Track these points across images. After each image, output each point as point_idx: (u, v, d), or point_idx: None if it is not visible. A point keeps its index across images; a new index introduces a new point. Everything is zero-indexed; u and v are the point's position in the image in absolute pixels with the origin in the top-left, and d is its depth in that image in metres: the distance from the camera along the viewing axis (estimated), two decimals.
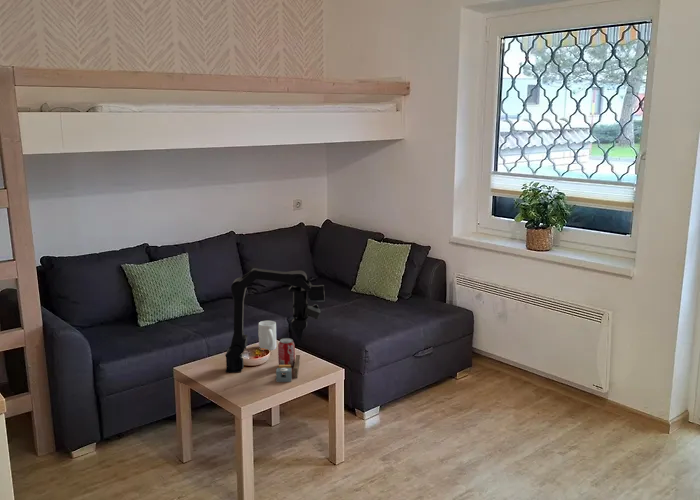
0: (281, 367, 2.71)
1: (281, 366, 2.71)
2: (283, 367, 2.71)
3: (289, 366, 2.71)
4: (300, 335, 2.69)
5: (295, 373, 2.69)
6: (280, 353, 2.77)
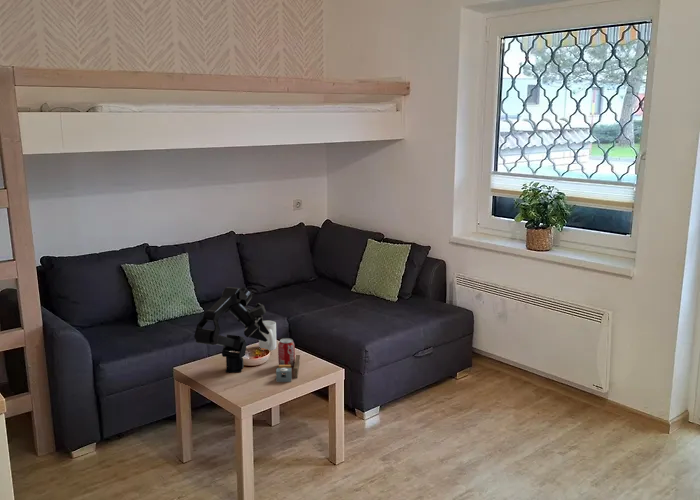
0: (281, 367, 2.71)
1: (281, 366, 2.71)
2: (283, 367, 2.71)
3: (289, 366, 2.71)
4: (262, 337, 2.72)
5: (295, 373, 2.69)
6: (280, 353, 2.77)
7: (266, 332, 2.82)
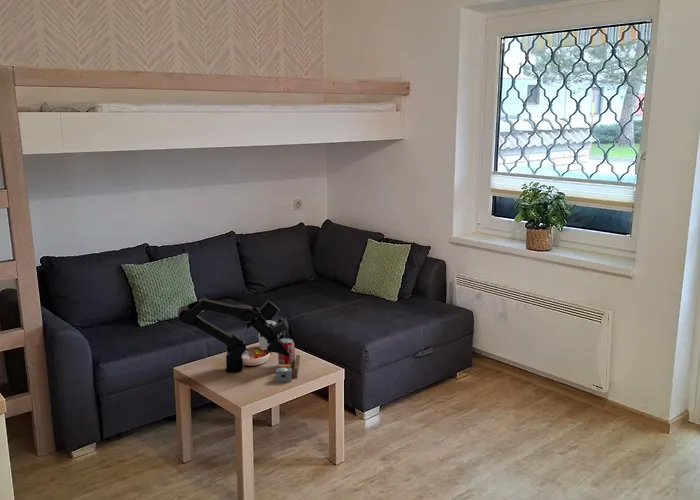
0: (281, 367, 2.71)
1: (281, 366, 2.71)
2: (283, 367, 2.71)
3: (289, 366, 2.71)
4: (285, 351, 2.75)
5: (295, 373, 2.69)
6: None
7: None
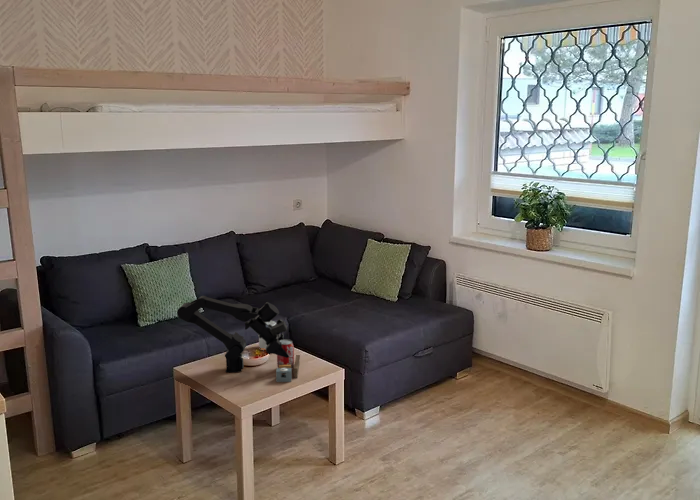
0: (281, 367, 2.71)
1: (281, 366, 2.71)
2: (283, 367, 2.71)
3: (289, 366, 2.71)
4: (284, 353, 2.71)
5: (295, 373, 2.69)
6: None
7: None
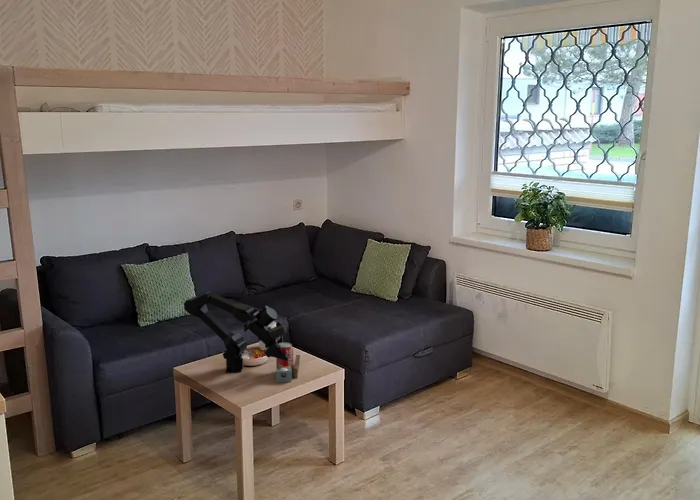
0: None
1: None
2: None
3: None
4: (283, 356, 2.68)
5: (295, 373, 2.69)
6: (278, 358, 2.70)
7: None
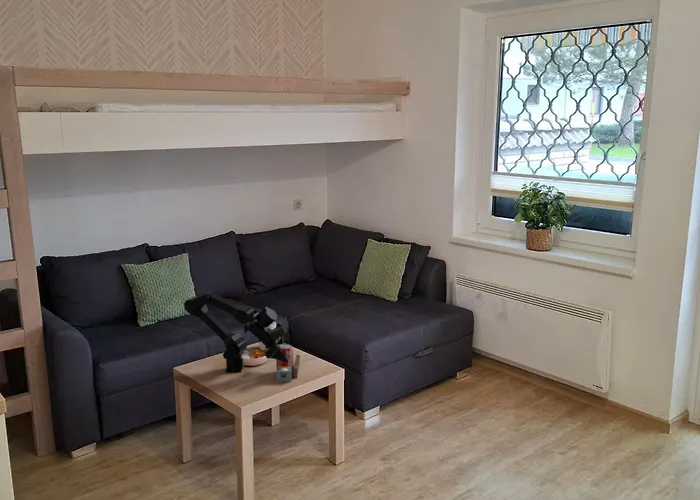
0: None
1: None
2: None
3: None
4: (283, 357, 2.67)
5: (295, 373, 2.69)
6: None
7: None
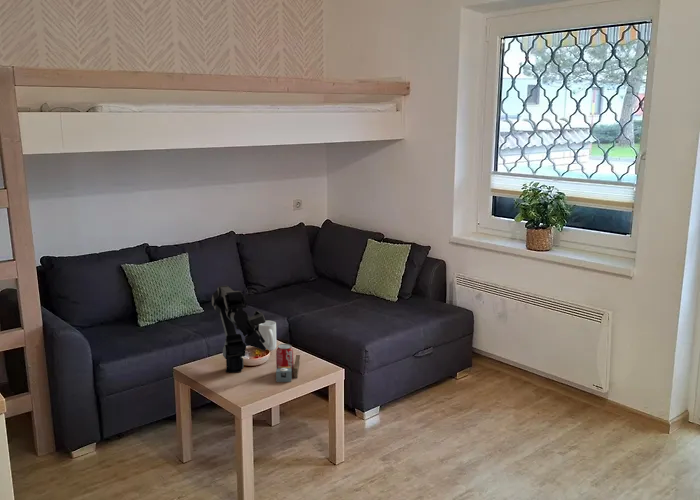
0: None
1: None
2: None
3: None
4: (261, 345, 2.67)
5: (295, 373, 2.69)
6: (278, 359, 2.70)
7: (262, 340, 2.77)
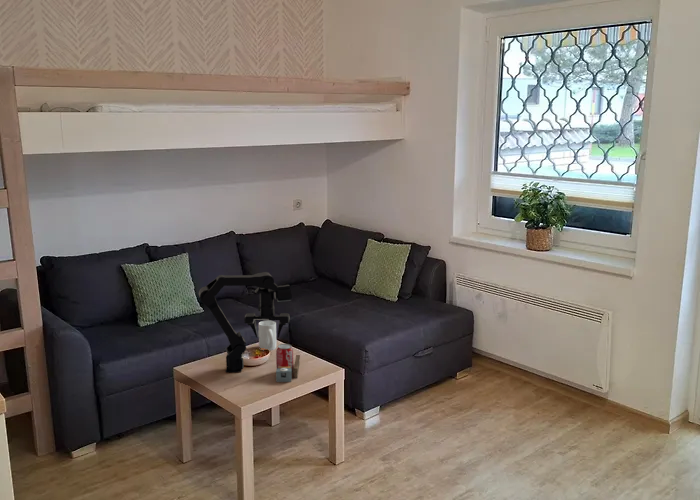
0: None
1: None
2: None
3: None
4: None
5: (295, 373, 2.69)
6: (278, 359, 2.70)
7: (257, 334, 2.79)
